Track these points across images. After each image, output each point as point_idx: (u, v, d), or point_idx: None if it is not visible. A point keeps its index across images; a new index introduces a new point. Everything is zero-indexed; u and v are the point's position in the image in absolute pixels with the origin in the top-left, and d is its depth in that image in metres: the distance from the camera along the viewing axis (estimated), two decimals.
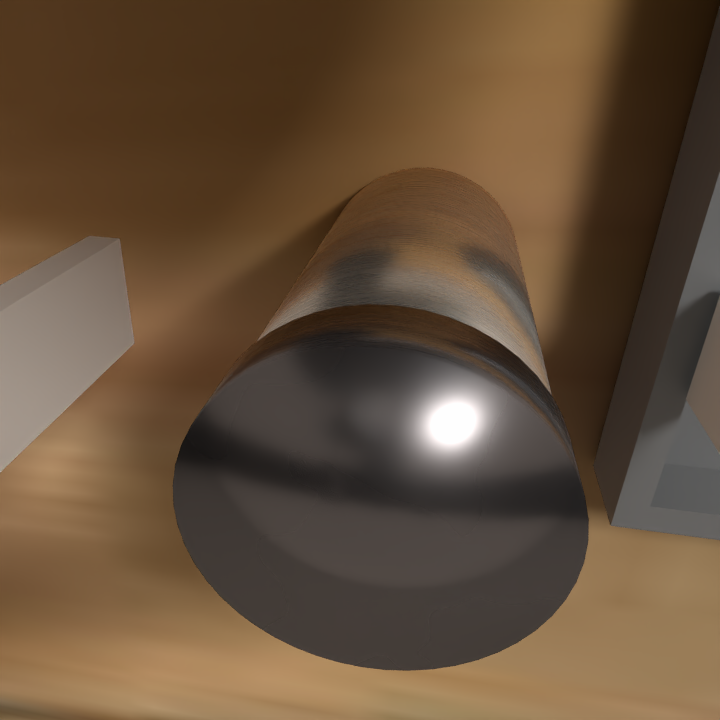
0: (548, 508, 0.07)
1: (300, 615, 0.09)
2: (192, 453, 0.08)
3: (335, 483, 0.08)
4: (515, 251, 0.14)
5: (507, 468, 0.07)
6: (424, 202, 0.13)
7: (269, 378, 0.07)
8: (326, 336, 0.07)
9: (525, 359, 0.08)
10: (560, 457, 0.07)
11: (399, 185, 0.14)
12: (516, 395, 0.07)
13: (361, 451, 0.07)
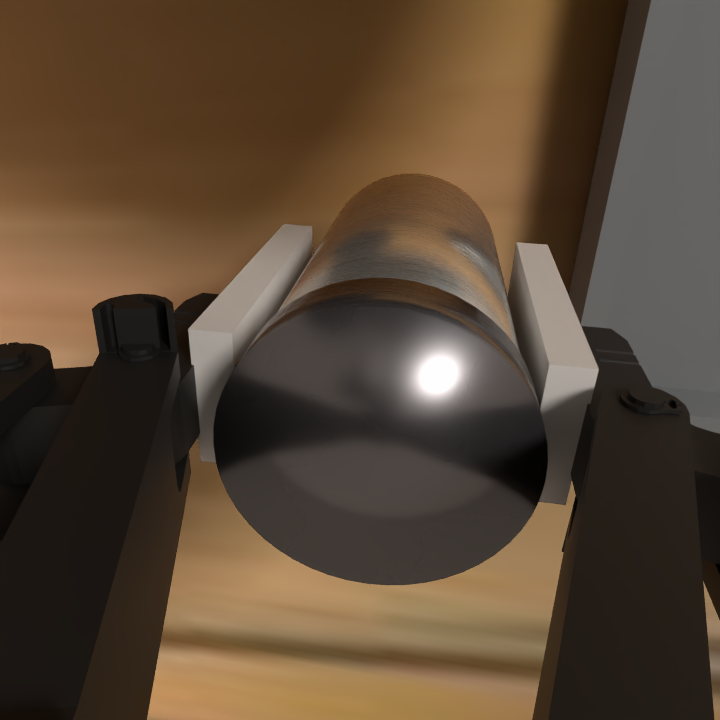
0: (516, 436, 0.09)
1: (316, 538, 0.11)
2: (230, 398, 0.10)
3: (346, 420, 0.10)
4: (492, 245, 0.16)
5: (483, 403, 0.09)
6: (413, 202, 0.15)
7: (295, 333, 0.09)
8: (339, 300, 0.09)
9: (498, 323, 0.10)
10: (524, 392, 0.09)
11: (391, 188, 0.16)
12: (489, 344, 0.09)
13: (367, 392, 0.09)
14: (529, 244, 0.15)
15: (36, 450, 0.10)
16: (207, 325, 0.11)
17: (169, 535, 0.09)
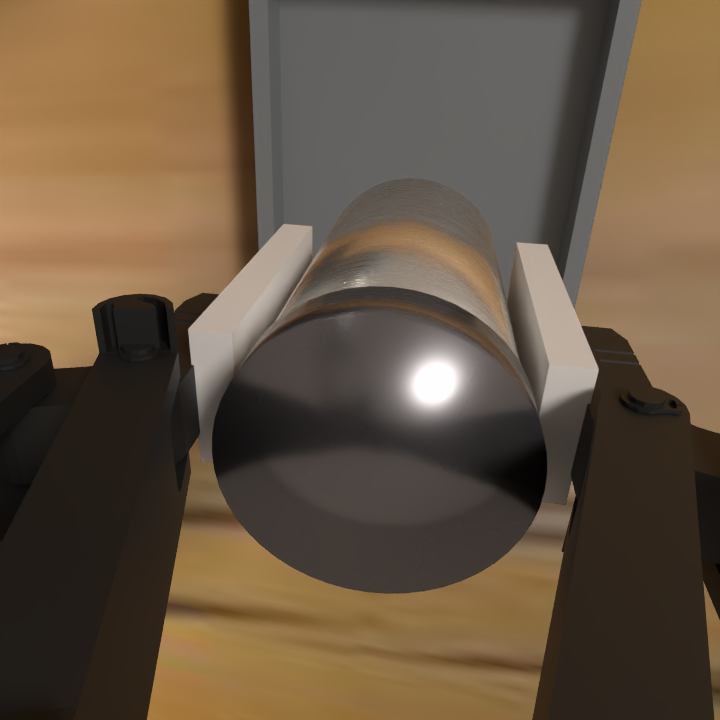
0: (515, 445, 0.09)
1: (315, 547, 0.11)
2: (229, 407, 0.10)
3: (345, 429, 0.10)
4: (492, 250, 0.16)
5: (482, 413, 0.09)
6: (412, 208, 0.15)
7: (293, 343, 0.09)
8: (338, 309, 0.09)
9: (497, 331, 0.10)
10: (523, 402, 0.09)
11: (390, 193, 0.16)
12: (488, 353, 0.09)
13: (366, 402, 0.09)
14: (530, 244, 0.15)
15: (36, 450, 0.10)
16: (207, 325, 0.11)
17: (169, 535, 0.09)
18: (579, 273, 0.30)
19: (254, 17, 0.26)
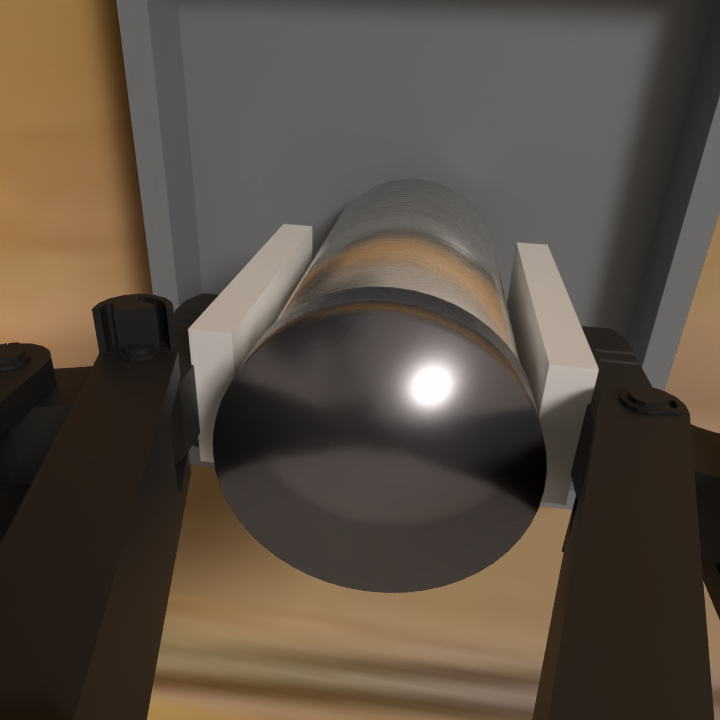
0: (514, 445, 0.09)
1: (315, 546, 0.11)
2: (230, 407, 0.10)
3: (345, 429, 0.10)
4: (492, 250, 0.16)
5: (482, 412, 0.09)
6: (412, 208, 0.15)
7: (294, 343, 0.09)
8: (338, 310, 0.09)
9: (497, 332, 0.10)
10: (522, 402, 0.09)
11: (390, 193, 0.16)
12: (487, 353, 0.09)
13: (366, 401, 0.09)
14: (529, 243, 0.15)
15: (36, 450, 0.10)
16: (207, 325, 0.11)
17: (169, 535, 0.09)
18: None
19: (128, 27, 0.16)
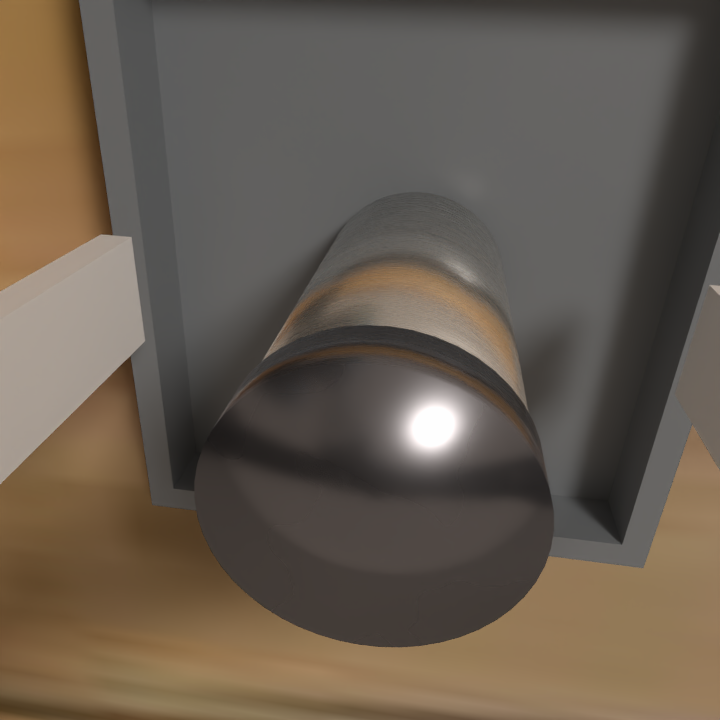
0: (519, 501, 0.09)
1: (304, 598, 0.10)
2: (212, 453, 0.09)
3: (336, 480, 0.09)
4: (499, 271, 0.15)
5: (484, 467, 0.08)
6: (415, 227, 0.14)
7: (281, 389, 0.08)
8: (329, 353, 0.08)
9: (502, 372, 0.10)
10: (528, 457, 0.08)
11: (393, 209, 0.15)
12: (491, 404, 0.08)
13: (359, 452, 0.09)
14: None
15: None
16: None
17: None
18: (672, 468, 0.17)
19: (93, 36, 0.14)
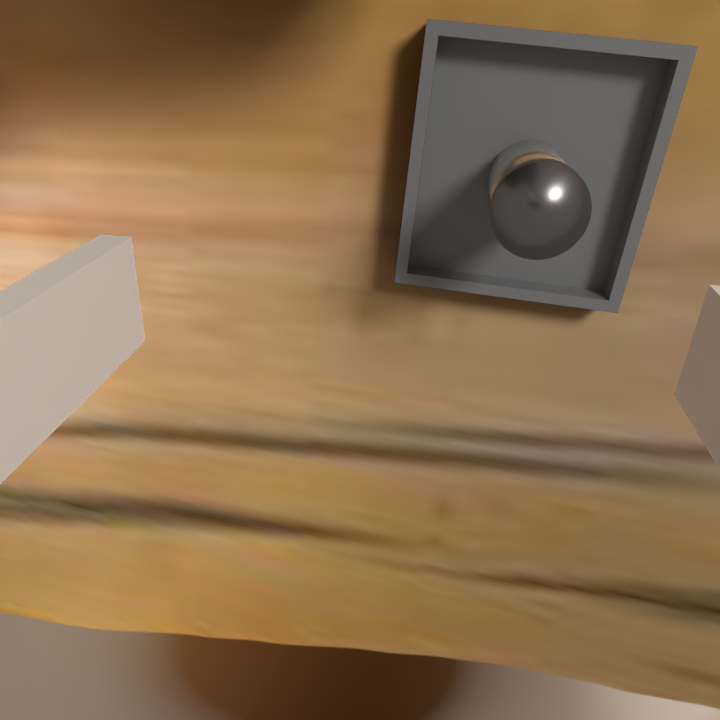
0: (583, 204, 0.33)
1: (515, 241, 0.34)
2: (501, 189, 0.33)
3: (534, 197, 0.33)
4: None
5: (575, 192, 0.33)
6: (540, 147, 0.38)
7: (525, 168, 0.33)
8: (537, 161, 0.33)
9: None
10: (587, 189, 0.33)
11: (527, 143, 0.40)
12: (578, 175, 0.33)
13: (542, 188, 0.33)
14: None
15: None
16: None
17: None
18: (631, 260, 0.42)
19: (424, 71, 0.39)
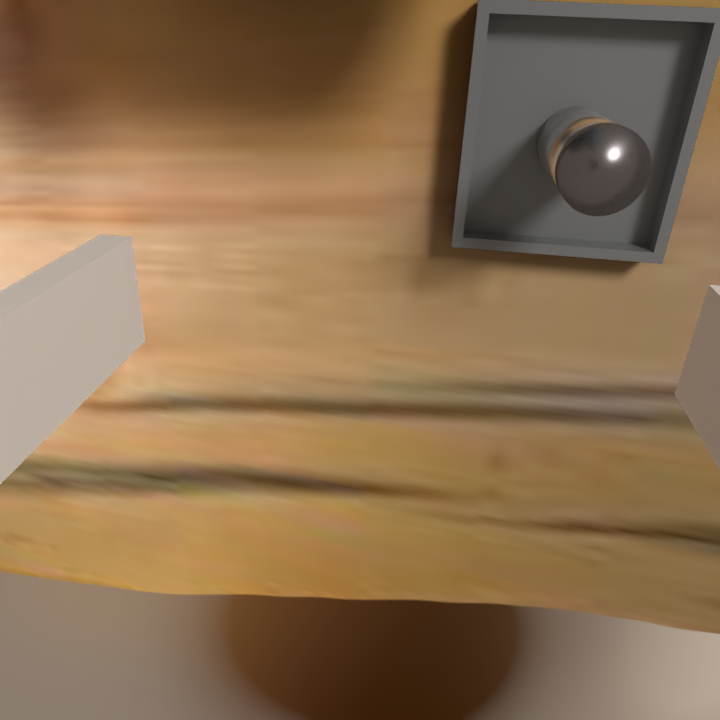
0: (643, 163, 0.36)
1: (580, 199, 0.38)
2: (568, 152, 0.37)
3: (599, 158, 0.37)
4: None
5: (636, 153, 0.36)
6: (591, 112, 0.42)
7: (591, 132, 0.36)
8: (602, 125, 0.36)
9: None
10: (647, 149, 0.36)
11: (576, 109, 0.43)
12: (639, 136, 0.36)
13: (606, 150, 0.36)
14: None
15: None
16: None
17: None
18: (674, 213, 0.45)
19: (476, 47, 0.42)
